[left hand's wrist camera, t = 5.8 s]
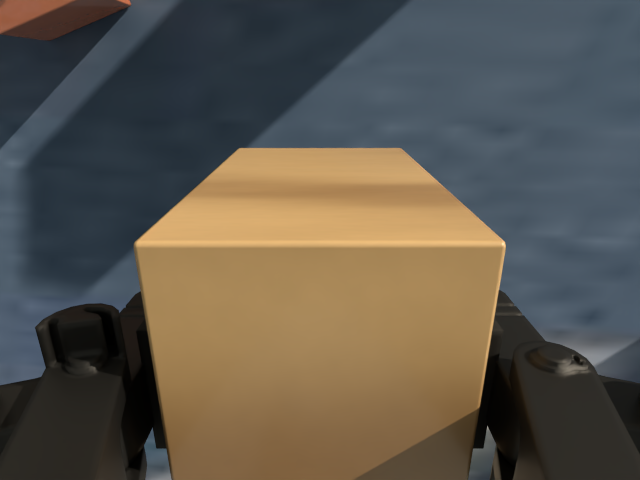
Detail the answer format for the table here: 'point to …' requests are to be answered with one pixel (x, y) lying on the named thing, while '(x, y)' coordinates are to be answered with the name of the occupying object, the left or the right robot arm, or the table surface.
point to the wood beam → (319, 319)
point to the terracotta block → (52, 16)
